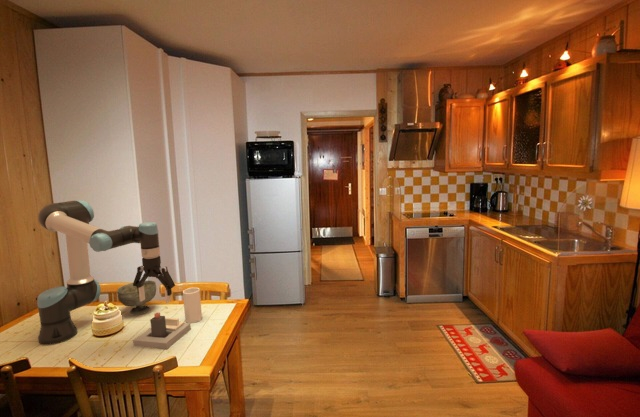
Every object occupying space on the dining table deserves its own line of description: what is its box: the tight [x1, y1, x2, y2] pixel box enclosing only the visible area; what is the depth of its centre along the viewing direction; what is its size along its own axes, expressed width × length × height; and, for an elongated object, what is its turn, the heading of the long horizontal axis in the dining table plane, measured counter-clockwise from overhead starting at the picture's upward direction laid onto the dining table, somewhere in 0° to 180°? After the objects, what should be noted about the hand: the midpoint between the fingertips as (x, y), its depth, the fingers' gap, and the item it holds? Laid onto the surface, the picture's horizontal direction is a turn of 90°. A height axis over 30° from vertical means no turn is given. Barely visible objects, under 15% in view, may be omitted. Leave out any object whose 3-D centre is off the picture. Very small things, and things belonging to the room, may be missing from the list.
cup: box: [182, 287, 203, 324], centre depth 184 cm, size 8×8×16 cm
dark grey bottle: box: [149, 312, 167, 338], centre depth 164 cm, size 4×4×13 cm
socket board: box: [132, 322, 192, 350], centre depth 167 cm, size 17×19×3 cm
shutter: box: [165, 317, 185, 330], centre depth 172 cm, size 12×7×4 cm, turn 78°
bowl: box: [117, 280, 157, 316], centre depth 197 cm, size 20×19×15 cm
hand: (155, 301), depth 163 cm, fingers open, 13 cm apart
